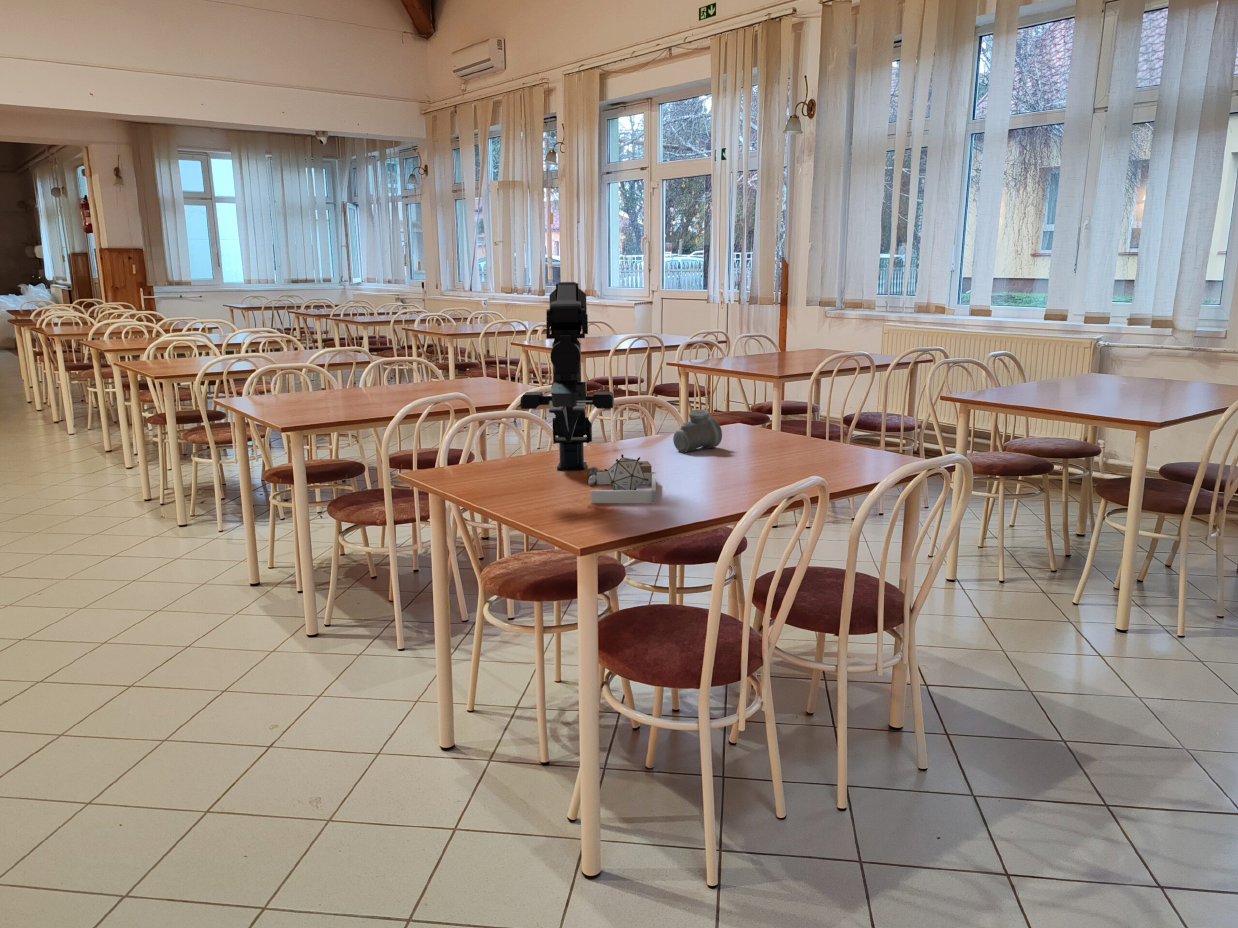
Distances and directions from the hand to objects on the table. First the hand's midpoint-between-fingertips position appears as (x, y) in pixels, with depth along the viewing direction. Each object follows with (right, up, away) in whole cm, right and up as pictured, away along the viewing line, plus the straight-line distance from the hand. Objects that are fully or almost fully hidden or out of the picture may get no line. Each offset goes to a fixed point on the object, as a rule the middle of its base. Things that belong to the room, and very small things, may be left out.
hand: (568, 441), depth 180 cm
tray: (+11, -11, +2) cm, 16 cm away
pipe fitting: (+30, -1, +45) cm, 54 cm away
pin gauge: (+5, -8, +12) cm, 15 cm away
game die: (+12, -11, +2) cm, 16 cm away
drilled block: (+15, -8, +11) cm, 20 cm away
